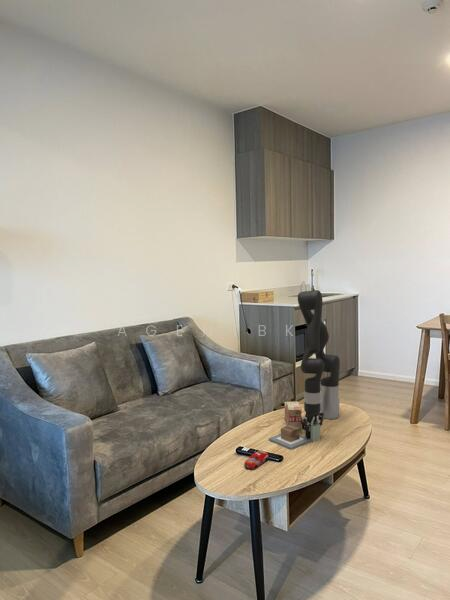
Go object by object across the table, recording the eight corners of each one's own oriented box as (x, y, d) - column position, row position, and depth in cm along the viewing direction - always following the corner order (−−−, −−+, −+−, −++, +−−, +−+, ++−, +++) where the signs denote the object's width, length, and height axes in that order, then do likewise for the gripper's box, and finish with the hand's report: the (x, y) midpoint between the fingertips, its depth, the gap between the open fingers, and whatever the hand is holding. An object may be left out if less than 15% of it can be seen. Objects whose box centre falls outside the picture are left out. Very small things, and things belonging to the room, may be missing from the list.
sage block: (311, 435, 207) (311, 421, 206) (320, 439, 203) (320, 424, 202) (304, 438, 203) (304, 423, 203) (313, 441, 200) (313, 426, 199)
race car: (252, 472, 172) (252, 462, 172) (241, 468, 175) (241, 458, 175) (271, 460, 182) (270, 450, 182) (260, 456, 186) (260, 447, 185)
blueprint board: (289, 432, 211) (289, 420, 210) (312, 441, 200) (311, 428, 199) (268, 440, 202) (268, 427, 202) (290, 449, 191) (290, 436, 191)
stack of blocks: (284, 418, 232) (284, 396, 231) (296, 418, 231) (296, 396, 230) (288, 434, 210) (288, 409, 209) (301, 434, 210) (301, 409, 209)
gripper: (316, 396, 209) (316, 430, 210) (295, 402, 200) (295, 438, 201) (328, 399, 203) (328, 435, 204) (308, 406, 194) (308, 443, 196)
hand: (312, 436), depth 203 cm, fingers closed on sage block, 5 cm apart
